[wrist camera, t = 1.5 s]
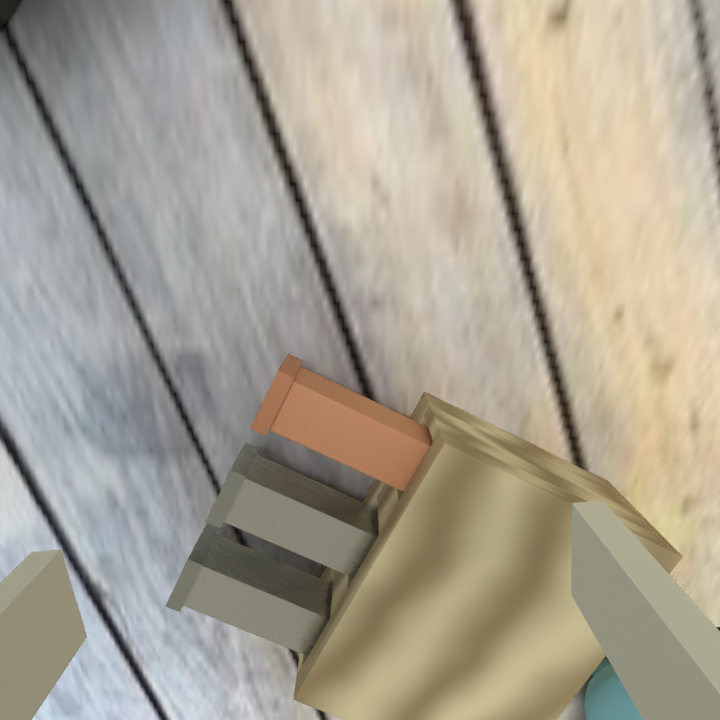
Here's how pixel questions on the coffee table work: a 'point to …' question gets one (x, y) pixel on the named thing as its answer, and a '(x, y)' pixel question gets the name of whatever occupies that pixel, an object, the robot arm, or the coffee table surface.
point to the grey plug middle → (296, 513)
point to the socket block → (466, 586)
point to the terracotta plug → (343, 425)
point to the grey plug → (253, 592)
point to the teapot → (608, 696)
